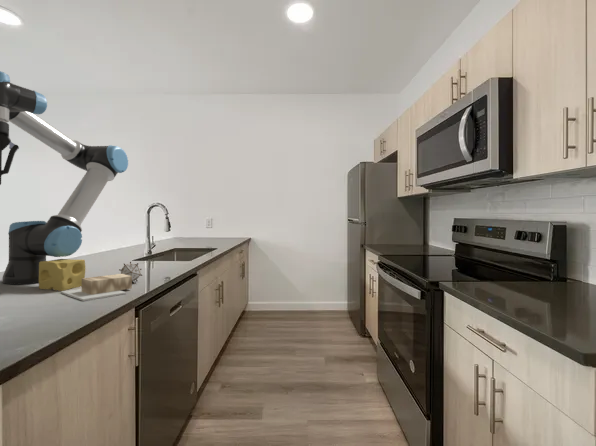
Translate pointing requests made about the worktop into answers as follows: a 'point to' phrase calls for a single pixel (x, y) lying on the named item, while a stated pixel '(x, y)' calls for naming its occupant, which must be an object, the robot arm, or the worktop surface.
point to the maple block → (106, 283)
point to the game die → (131, 271)
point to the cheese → (61, 274)
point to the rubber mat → (84, 296)
